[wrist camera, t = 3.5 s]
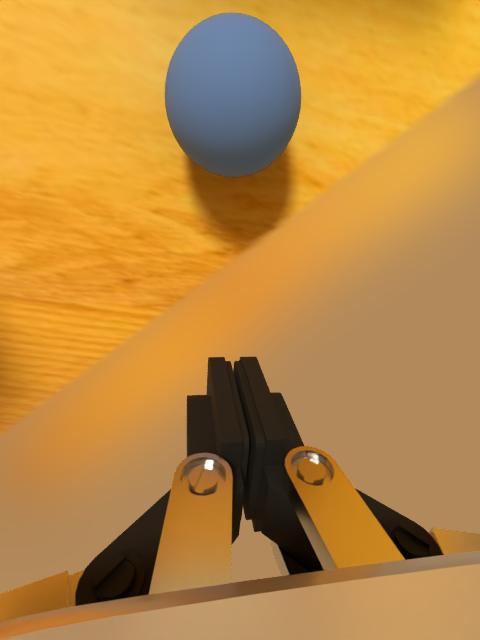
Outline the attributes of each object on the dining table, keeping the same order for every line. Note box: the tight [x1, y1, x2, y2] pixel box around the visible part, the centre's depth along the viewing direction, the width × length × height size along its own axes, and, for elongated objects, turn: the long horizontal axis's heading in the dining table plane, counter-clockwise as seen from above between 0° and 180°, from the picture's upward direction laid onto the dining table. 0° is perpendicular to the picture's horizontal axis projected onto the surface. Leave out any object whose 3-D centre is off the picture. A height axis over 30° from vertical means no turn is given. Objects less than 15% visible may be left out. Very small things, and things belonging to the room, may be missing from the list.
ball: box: [165, 13, 301, 177], centre depth 15 cm, size 6×6×6 cm
